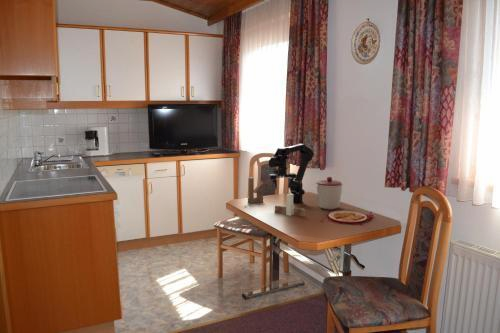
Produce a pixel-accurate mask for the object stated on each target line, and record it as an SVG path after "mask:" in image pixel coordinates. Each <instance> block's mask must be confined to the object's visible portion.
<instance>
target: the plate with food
mask: <svg viewBox="0 0 500 333" xmlns="http://www.w3.org/2000/svg"><path fill="white" fill-rule="evenodd" d="M372 213H373V212H372V211H370V212H369V214H367V213H363V212H359V211H353V210H335V211H334V210H333V209H330V211H329V212H328V213H326V215H325V218H326V219H327V222H329V223H334V224H338V225H346V224H347V225H348V224H349V225H352V226H355V225H356V226H363V227H364V226H365V223H369V222H371V220H372V218H373V216H374V214H372ZM322 218H323V217H322ZM325 218H323V219H320V221H321V222H324V223H325V222H326V220H325Z"/></svg>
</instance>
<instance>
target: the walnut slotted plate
mask: <svg viewBox="0 0 500 333" xmlns="http://www.w3.org/2000/svg"><path fill="white" fill-rule="evenodd" d="M274 213H275V214H281V215H286V206H283V205H274ZM293 216H295V217H303V218H304V217H306V208H300V207H299V208H298V207H293Z"/></svg>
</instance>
